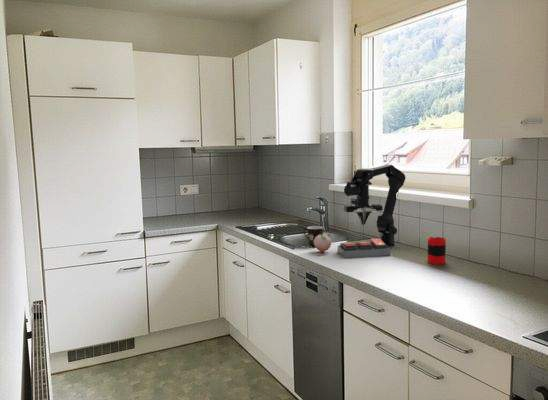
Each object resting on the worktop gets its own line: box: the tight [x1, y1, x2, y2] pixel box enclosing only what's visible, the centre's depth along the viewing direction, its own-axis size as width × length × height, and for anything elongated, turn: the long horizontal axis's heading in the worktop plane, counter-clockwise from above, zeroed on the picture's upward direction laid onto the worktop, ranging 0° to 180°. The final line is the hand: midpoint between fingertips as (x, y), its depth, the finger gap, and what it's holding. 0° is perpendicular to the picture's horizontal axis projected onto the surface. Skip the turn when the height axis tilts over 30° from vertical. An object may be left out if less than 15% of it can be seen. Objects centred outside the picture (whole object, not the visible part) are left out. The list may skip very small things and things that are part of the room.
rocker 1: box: [341, 242, 355, 246], centre depth 229 cm, size 4×8×1 cm, turn 7°
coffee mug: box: [303, 225, 324, 248], centre depth 251 cm, size 12×9×10 cm
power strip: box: [337, 240, 391, 259], centre depth 230 cm, size 23×12×5 cm, turn 98°
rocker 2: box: [370, 237, 385, 246], centre depth 231 cm, size 4×8×1 cm, turn 8°
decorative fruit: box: [314, 232, 332, 253], centre depth 236 cm, size 9×8×10 cm
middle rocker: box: [356, 241, 370, 245], centre depth 230 cm, size 4×8×1 cm, turn 7°
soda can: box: [427, 234, 447, 266], centre depth 211 cm, size 8×8×12 cm
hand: (363, 224), depth 237 cm, fingers closed
